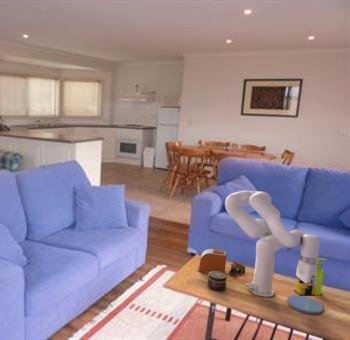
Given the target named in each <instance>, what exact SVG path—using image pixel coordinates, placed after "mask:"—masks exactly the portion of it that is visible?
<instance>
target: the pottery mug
mask: <svg viewBox="0 0 350 340" xmlns="http://www.w3.org/2000/svg"><path fill="white" fill-rule="evenodd" d="M245 274H246V266H244V265H243V264H240V263H239V262H236V261H233V262H232V263H231V264H230V269H229V270H228V275H230V276H231V277H235V278H237V276H238V277H242V276H243V275H245Z"/></svg>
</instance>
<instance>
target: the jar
mask: <svg viewBox="0 0 350 340" xmlns="http://www.w3.org/2000/svg"><path fill="white" fill-rule="evenodd" d="M227 281H228V276H227V274H226V273H225V274H224V273H222V272H219V271H211V272H209V273H207V286H208V288H209V289H211V290H213V291H216V292H222V291H224V290H225V289H226V288H227Z"/></svg>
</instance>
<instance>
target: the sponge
mask: <svg viewBox="0 0 350 340" xmlns="http://www.w3.org/2000/svg"><path fill="white" fill-rule="evenodd" d="M310 285H311V284H309V286H310ZM305 288H306V283H305V282H304V283H299V282H295V283H294V289H293V292H294V293H295V294H297V296H304V297H306V296H305ZM315 293H316V287H314V288H313V289H312V295H311V296H310V297H316V295H315Z"/></svg>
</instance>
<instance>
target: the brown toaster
mask: <svg viewBox="0 0 350 340" xmlns="http://www.w3.org/2000/svg"><path fill="white" fill-rule="evenodd" d="M227 252H228V251H226V250H221V249H215V248H208V249H205V250H204V251H203V252H202V253H201V256H200V259H199V267H198V272H201V273H205V274H206V273H207V274H209V272H211V271H219V272H222V273H224V274H225V275H226V273H225V272H226V263H227V255H228V253H227Z"/></svg>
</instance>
